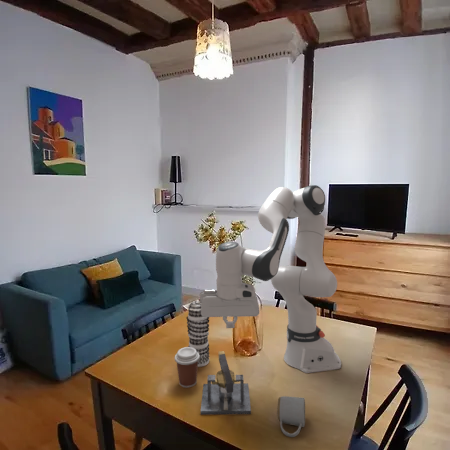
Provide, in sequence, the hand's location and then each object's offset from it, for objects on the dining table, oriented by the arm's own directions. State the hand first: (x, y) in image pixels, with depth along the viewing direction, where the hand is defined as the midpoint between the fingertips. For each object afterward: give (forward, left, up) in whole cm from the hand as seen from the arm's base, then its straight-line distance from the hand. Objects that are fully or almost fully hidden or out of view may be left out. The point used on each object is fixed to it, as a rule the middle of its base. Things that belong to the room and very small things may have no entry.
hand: (230, 327), depth 115 cm
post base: (+2, +7, -23) cm, 24 cm away
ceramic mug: (-18, +19, -23) cm, 35 cm away
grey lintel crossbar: (+2, +7, -16) cm, 18 cm away
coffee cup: (+16, -3, -23) cm, 28 cm away
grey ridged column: (+13, -17, -23) cm, 31 cm away
